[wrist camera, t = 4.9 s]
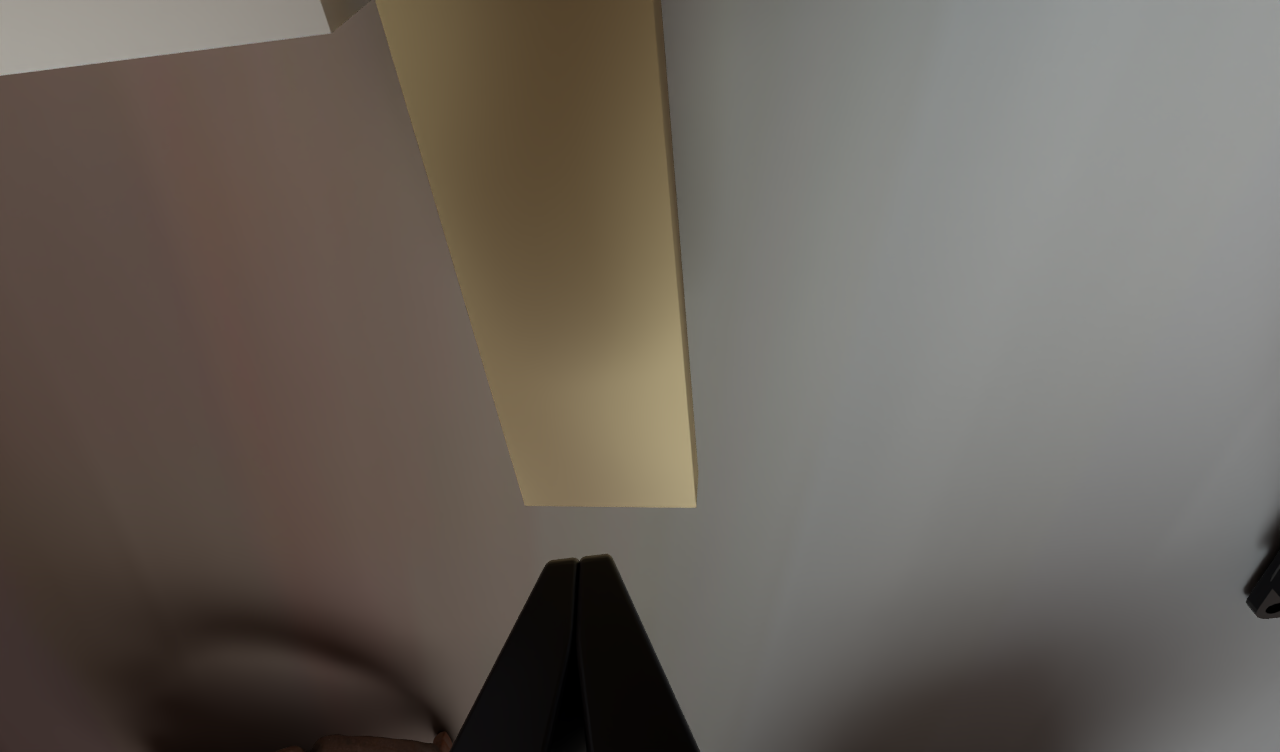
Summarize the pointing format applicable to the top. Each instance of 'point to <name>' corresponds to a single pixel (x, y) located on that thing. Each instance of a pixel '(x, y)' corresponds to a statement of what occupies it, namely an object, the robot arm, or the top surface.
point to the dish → (151, 27)
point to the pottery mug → (375, 744)
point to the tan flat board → (561, 233)
